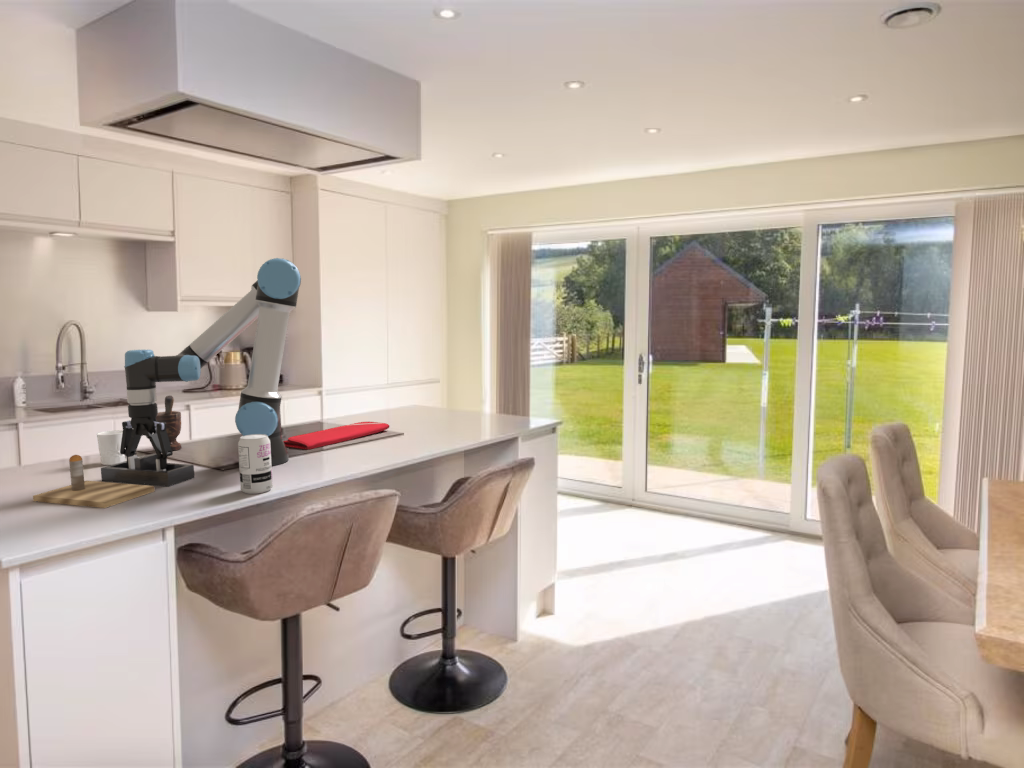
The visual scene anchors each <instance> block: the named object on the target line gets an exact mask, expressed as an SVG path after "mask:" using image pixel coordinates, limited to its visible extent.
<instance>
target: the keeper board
mask: <svg viewBox="0 0 1024 768" xmlns="http://www.w3.org/2000/svg"><path fill="white" fill-rule="evenodd" d="M68 461H69V462H68V463H69V473H70V485H66V486H62V487H59V488H56V489H52V490H48V491H44V492H41V493H37V494H34V495H32V499H33V500H32V501H33V502H36V501H38V502H39V503H49V504H60V505H70V506H80V507H89V508H90V507H92V508H100V509H106V508H108V507H109V508H110V507H113V506H115V505H118V504H121V503H124V502H127V501H130V500H133V499H134V500H135V499H137V498H139V497H143V496H145V495H148V494H151V493H154V492H156V491H155V490H156V489H155V486H153V485H141V484H128V483H116V482H104V481H97V480H96V481H95V480H85V476H84V463H83V457H82V456H81V455H79V454H73V455H71V456H70V457H69V460H68Z"/></svg>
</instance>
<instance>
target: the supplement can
mask: <svg viewBox="0 0 1024 768" xmlns="http://www.w3.org/2000/svg"><path fill="white" fill-rule="evenodd" d="M237 448H238V449H237V451H238V468H239V484H240V490H241V492H243V493H244V494H246V495H247V494H249V495H255V494H256V495H257V494H262V493H266V492H267V493H268V491H271V489H272V488H273V486H274V485H273V468H272V466H273V465H271V446H270V440H269V438H268V436H267V435H265V434H252V435H245V436H243V435H242V436H240V437H239V441H238V442H237Z"/></svg>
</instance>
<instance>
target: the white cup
mask: <svg viewBox="0 0 1024 768" xmlns="http://www.w3.org/2000/svg"><path fill="white" fill-rule="evenodd" d="M122 433H123V430H107V431H106V430H105V431H100V432H98V433H96V438H97V444H98V445H97V446H98V452H99V456H100V463H101V464H102V465H103V466H110V465H113V464H117V463H121V462H124V461H126V456H125V455H124V454H121V453H120V448H121V441H122Z"/></svg>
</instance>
